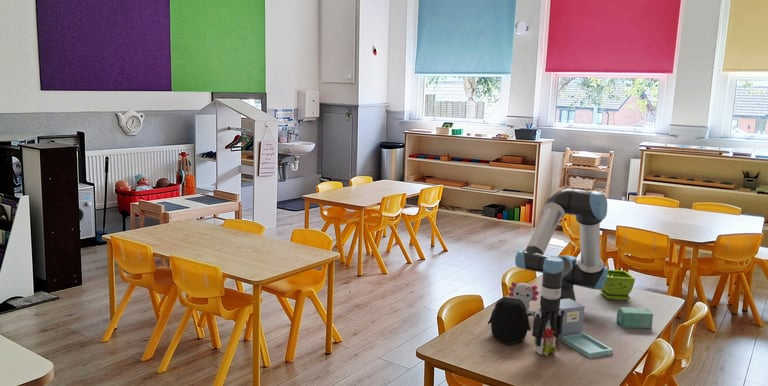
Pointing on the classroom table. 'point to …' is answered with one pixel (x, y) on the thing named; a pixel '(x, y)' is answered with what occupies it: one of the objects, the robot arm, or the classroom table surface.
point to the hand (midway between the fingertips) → (545, 352)
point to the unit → (571, 317)
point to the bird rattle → (547, 341)
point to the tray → (587, 345)
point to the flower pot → (618, 285)
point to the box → (635, 317)
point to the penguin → (509, 320)
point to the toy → (524, 294)
